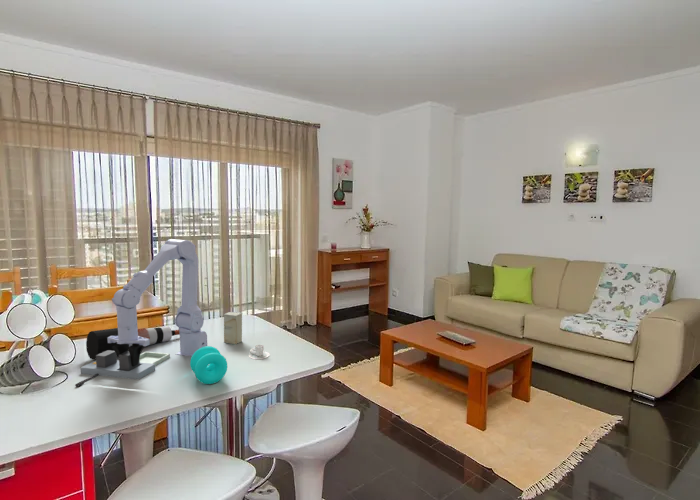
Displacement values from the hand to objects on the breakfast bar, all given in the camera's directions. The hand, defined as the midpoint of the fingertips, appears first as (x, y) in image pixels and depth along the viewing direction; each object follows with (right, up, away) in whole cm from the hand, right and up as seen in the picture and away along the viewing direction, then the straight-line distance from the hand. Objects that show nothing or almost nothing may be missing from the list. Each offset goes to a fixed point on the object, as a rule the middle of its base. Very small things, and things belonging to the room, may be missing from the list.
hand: (129, 364), depth 134 cm
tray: (+1, -2, +10) cm, 11 cm away
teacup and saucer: (+40, -2, +21) cm, 45 cm away
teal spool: (+28, -4, -3) cm, 28 cm away
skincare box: (+25, 0, +33) cm, 41 cm away
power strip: (-5, -3, -3) cm, 7 cm away
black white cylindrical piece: (-10, -1, +25) cm, 27 cm away
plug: (0, -2, 0) cm, 2 cm away
